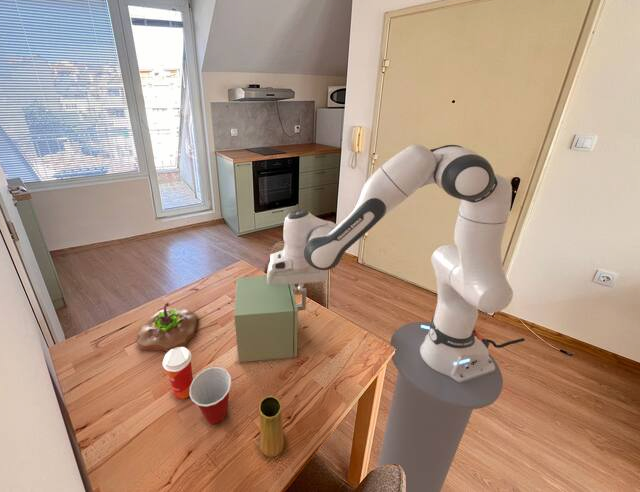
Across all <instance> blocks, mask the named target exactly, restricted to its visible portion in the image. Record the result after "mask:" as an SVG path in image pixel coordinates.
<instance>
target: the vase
mask: <svg viewBox="0 0 640 492" xmlns="http://www.w3.org/2000/svg"><path fill="white" fill-rule="evenodd" d="M282 408H283V407H282V402H281V400H280V399H279V398H278V397H276V396H274V395H273V396H272V395H267V396H265V397H263V398H262V399H261V400H260V403H259V408H258V413H259V415H258V416H259V437H260V439H259V449H260V451H261V452H262V453H263V454H264V455H265V456H266V457H270V458H271V457H272V458H273V457H277V456H278V455H280V454H281V452H282V451H283V450H284V445H285V440H284V428H283V427H284V426H283V413H282V410H283V409H282Z"/></svg>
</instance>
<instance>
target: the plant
mask: <svg viewBox="0 0 640 492" xmlns="http://www.w3.org/2000/svg"><path fill="white" fill-rule="evenodd" d="M170 304H171V303H170V302H168V301H167V302H165V303H164V307H163V309H160V310H159V311H157V312H156V313H155V314H154V315H152V316H151V317H149V318H148V320H147V322H146V324H145V325H143V326H141V327H140V331H138V333H137V336H138V339H137V341H136V343H137V346H138V348H140V349H141V350H143V351H148V352H149V351H162V352H166V353H167V352H168V351H169V350H171V349H175V348H177V347H180V348H181V347H185V348H186V346H187V343H188V342H189V341H190V340H191V339H193V338H194V336H195V333H196V329H197V324H198V319H199V318H198V314H196V313H194V312H193V311H191V310H189V309H187V308H180V307H174V308H168V309H167V307H170Z"/></svg>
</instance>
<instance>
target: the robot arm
mask: <svg viewBox="0 0 640 492" xmlns="http://www.w3.org/2000/svg"><path fill="white" fill-rule="evenodd" d="M431 184H436V185H437V187H439V188H440V189H442V190H443V191H444V192H445V193H446V194H447V195H448V196H451V197H452V198H454V199H458V200H460V203H459V207H458V211H457V217H456V220H455V221H456V222H455V226H454V230H453V242H454V244H455V245H453V244H450V243H449V244H443V245H441V246H439V247H438V248H436V249H435V250H434V251H433V252H432V255H431V257H430V263H431V267H432V268H433V271H434V275H435V280H436V291H437V300H436V305H435V306H436V307H435V311H434V315H433V317H432V318H431V321H430V322H431V324H430V327H428V326H424V325H421V327H422V328H426V329H429V332H428V335H426V337H425V341H424V342H423V344H422V345H421V347H420V354H421V357H422V358H423V360H424V361H425V362H426V364H427V365H429V366H430V367H431V368H432V369H434V370H436V371H437V372H439V373H442V374H444V375H447V376H449V377H451V378H452V379H454V380H455V381H457V382H464V381H467V380H470V379H473V378H476V377H479V376H482V375H485V374H488V373H491V372H494V371H495V365H494V363H493V361H492V359H491V358H490V357H489V354H490V353H489V347H490V344H492V346H493V347H494V348H496V349H501V348H505V347H507V346H510V345H514V344H519V343H522V342H525V341H526V339H525V338H523V337H521V338H518V339H517V338H516V339H514V340H510V341H506V342H504V343H501V344H496V342H495V341H494V340H492V339H487V338H485V336H484V335H483V334H482V333H481V332H480V331H478V330H476V329H475V326H476V323H477V320H478V318H479V311H481V312H482V313H485V314H494V313H499V312H502V311H503V310H505V309H507V308H508V306H509V305H510V304H511V302H512V301H513V298H514V292H513V291H514V289H513V288H512V287H511V284H510V282H509V281H508V279H507V277H506V274H505V270H504V264H503V258H502V243H503V238H504V235H505V230H506V228H507V227H506V226H507V224H508V220H509V216H510V212H511V206H512V196H513V186H512V183H511V181H510V180H509V179H508V178H506V177H504V176H502V175H500V174H495V172H494V168H493V166H492V164H491V163H490V162H489V160H487V159H486V158H485V157H483V156H482V155H480V154H478V153H477V152H475V151H474V150H472V149H470V148H465V147H463V146H461V145H459V144H446V145H442V146H439V147H435V148H432V149H429V148H428V147H426V146H424V145H421V144H411V145H409V146H407V147H406V148H404V149H402V150H401V151H399V152H397V153H396V154H395V155H393V156H392V157H391V158H389V159H388V160H387V161H385V162H384V163H383V164H382V165H381V166H379V167H378V168H377V169H376V170H375V171H374V172H373V173H372V174H371V175H370V176H369V177H368V179H367V180H366V181H365V182H364V184H363V186H362V188H361V192H360V195H359V198H358V201H357V203H356V205H355V207H354V209H353V210H352V211H351V212H350V213H349V215H348V216H346V217H345V219H343V220H342V221H341V222H340V223H339V224H337V223H335V222H334V221H332V220H325V219H323V218H319V217H317V216H315V215H313V214H312V213H311V212H310V211H309V210H306V209H295V210H293V211H290V212H289V213H288V214H287V215H286V216H285V218H284V221H283V230H282V234H283V235H282V238H283V242H284V246H283V249H281V250H279V251H277V252H274V253H271V254H270V255H269V263H268V265H267V270H266V276H267V283H268V285H270V286H276V285H289V284H290V285H291V287H292V289H293V291H294V294H297V293H301V289H302V288H304V286H305V284H314V283H325V282H326V281H327V280H328V271H330V270H333V269H334V268H336V267H337V266H338V265H339V263H340V261H341V259H342V258H343V255H344V254H345V253H346V251H348V249H349V248H351V247H352V246H353V245H354V244H355V243H356V242H357V241H358V240H360V239H361V238H362V237H363V236H364V235H365V234H367V233H368V232H369V231H370V230H371V229H372V228H373V227H374V226H376V224H377V223H378V222H380V221H381V220H382V219H383V218H384V217H385V216H386V215H388V214H389V213H390V212H391V211H392V210H394V209H395V208H396V207H397V206H399V205H400V204H402V202H405V200H407V199H408V198H409V197H410V196H412V195H413V194H414V193H415V192H417V191H419V189H421V188H423V187H425V186H427V185H431ZM296 285H298V286H296Z"/></svg>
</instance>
